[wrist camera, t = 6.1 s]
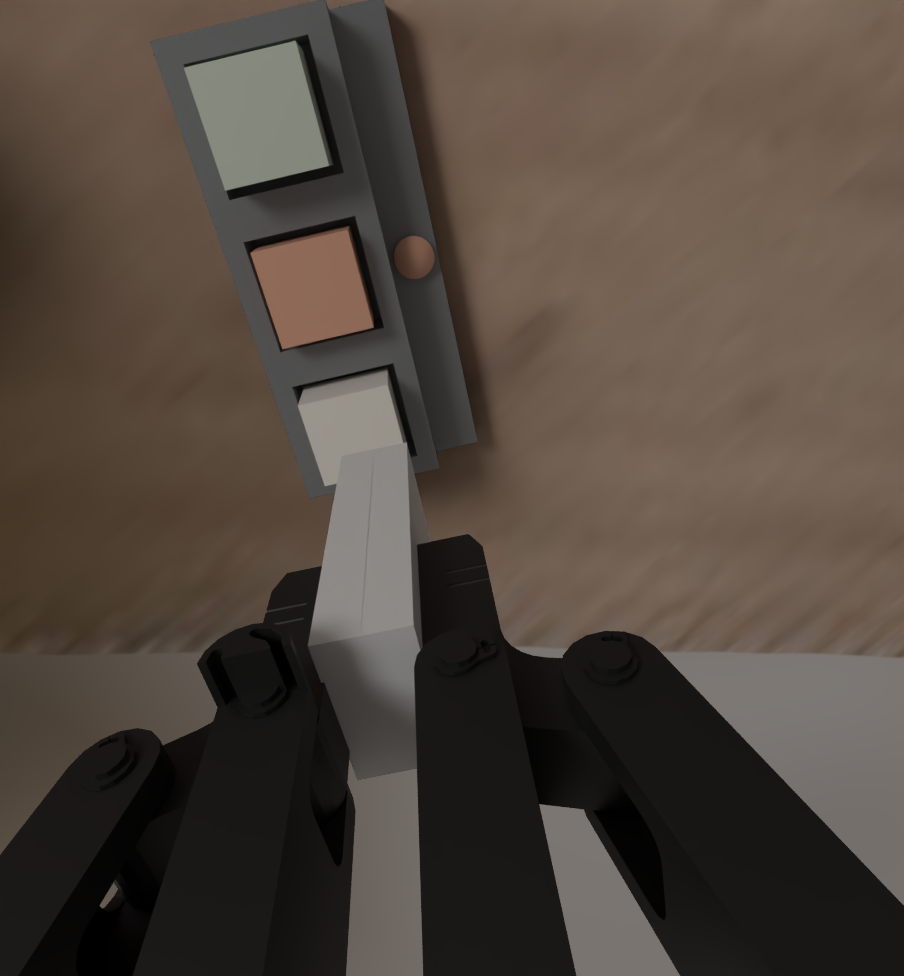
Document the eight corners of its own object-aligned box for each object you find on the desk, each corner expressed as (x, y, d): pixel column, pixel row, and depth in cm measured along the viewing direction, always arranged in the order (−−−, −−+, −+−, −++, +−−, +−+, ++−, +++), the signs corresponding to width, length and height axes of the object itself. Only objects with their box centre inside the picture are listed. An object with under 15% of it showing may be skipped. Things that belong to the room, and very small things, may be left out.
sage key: (303, 51, 28) (295, 40, 26) (333, 164, 30) (329, 166, 28) (202, 76, 28) (183, 67, 26) (239, 187, 30) (225, 190, 28)
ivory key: (387, 367, 35) (387, 384, 32) (407, 443, 37) (409, 466, 34) (304, 386, 35) (297, 406, 32) (329, 462, 37) (324, 486, 34)
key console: (383, 3, 30) (383, -16, 27) (474, 432, 40) (482, 458, 36) (175, 53, 30) (149, 41, 27) (316, 469, 40) (310, 498, 36)
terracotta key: (350, 223, 32) (347, 229, 30) (374, 314, 34) (373, 327, 32) (261, 244, 32) (250, 253, 30) (290, 333, 34) (282, 349, 32)
